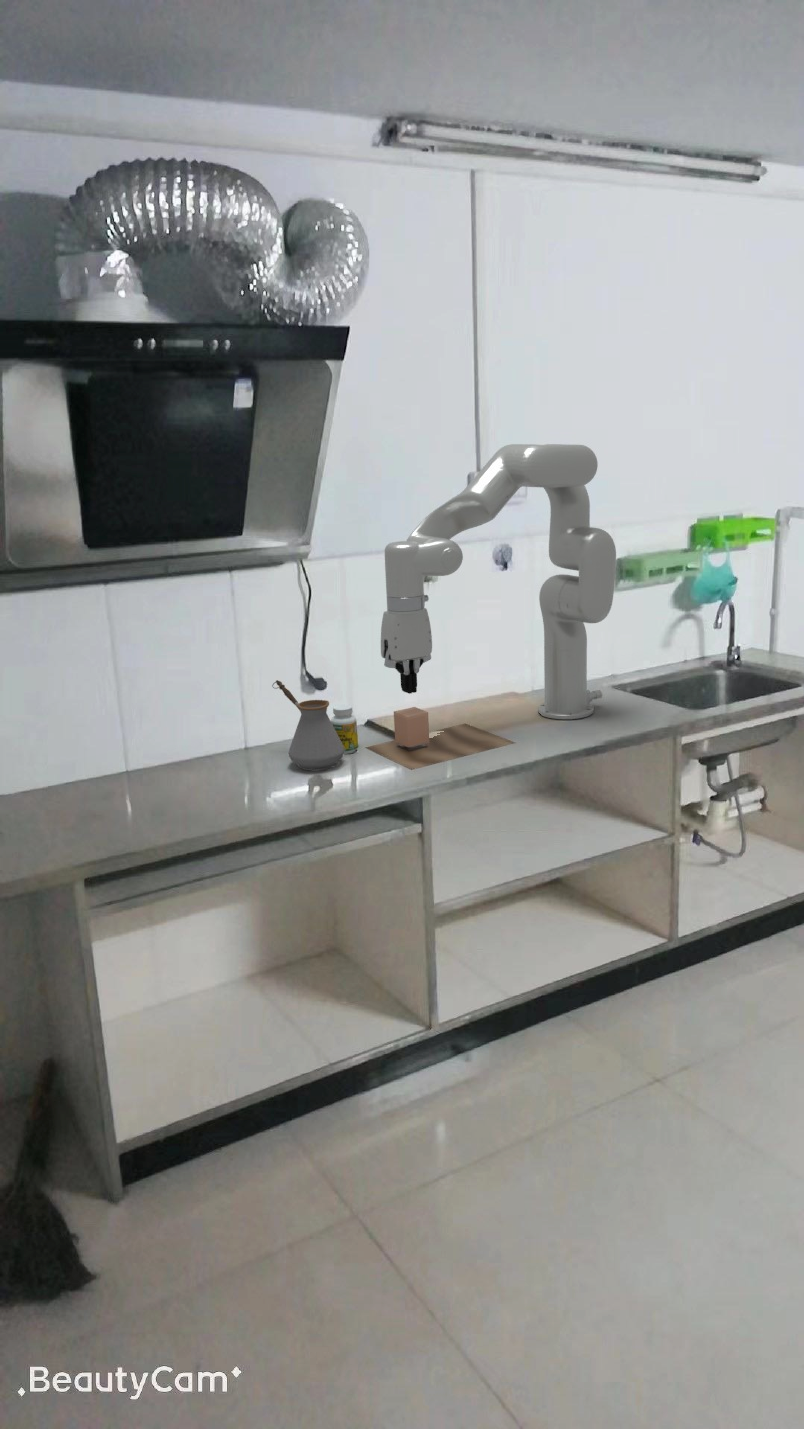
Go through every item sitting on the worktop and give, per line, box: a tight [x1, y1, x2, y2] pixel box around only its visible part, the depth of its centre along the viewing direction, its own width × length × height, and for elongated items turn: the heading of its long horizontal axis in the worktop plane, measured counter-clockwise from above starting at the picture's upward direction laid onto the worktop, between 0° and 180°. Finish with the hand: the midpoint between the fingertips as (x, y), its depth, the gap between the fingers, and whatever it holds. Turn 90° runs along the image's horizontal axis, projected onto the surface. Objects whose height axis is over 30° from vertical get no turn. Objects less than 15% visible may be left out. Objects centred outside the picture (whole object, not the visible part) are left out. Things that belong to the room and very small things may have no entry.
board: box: [365, 723, 516, 771], centre depth 221 cm, size 26×18×1 cm
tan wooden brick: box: [393, 706, 430, 748], centre depth 219 cm, size 5×5×7 cm
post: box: [398, 744, 427, 751], centre depth 219 cm, size 4×4×7 cm
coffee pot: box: [271, 680, 345, 771], centre depth 217 cm, size 21×12×15 cm, turn 34°
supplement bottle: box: [330, 704, 359, 755], centre depth 221 cm, size 5×5×10 cm
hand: (409, 691), depth 217 cm, fingers closed
